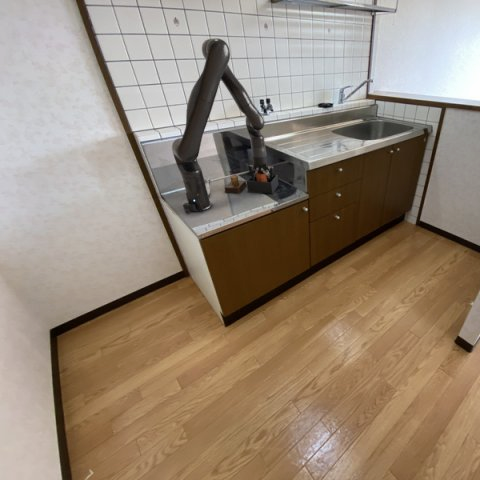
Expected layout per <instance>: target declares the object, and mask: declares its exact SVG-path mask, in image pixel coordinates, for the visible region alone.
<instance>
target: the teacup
mask: <svg viewBox="0 0 480 480" xmlns="http://www.w3.org/2000/svg"><path fill="white" fill-rule="evenodd" d="M204 181H205V185H206V189H207V193H208V196H209V195H210V194H211V186H212V180H211V178H204Z"/></svg>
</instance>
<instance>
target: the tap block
mask: <svg viewBox="0 0 480 480" xmlns="http://www.w3.org/2000/svg"><path fill="white" fill-rule="evenodd" d="M238 181H239V184H238V185H232V183H231V181H230V182H228V183H227V185H225V186H224V192H225V193H229V194H240V193H241V192H242V191H243V190H244V189H245V188H246V187H247V182H246V181H247V180H242V179H241V180H240V179H238Z"/></svg>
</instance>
